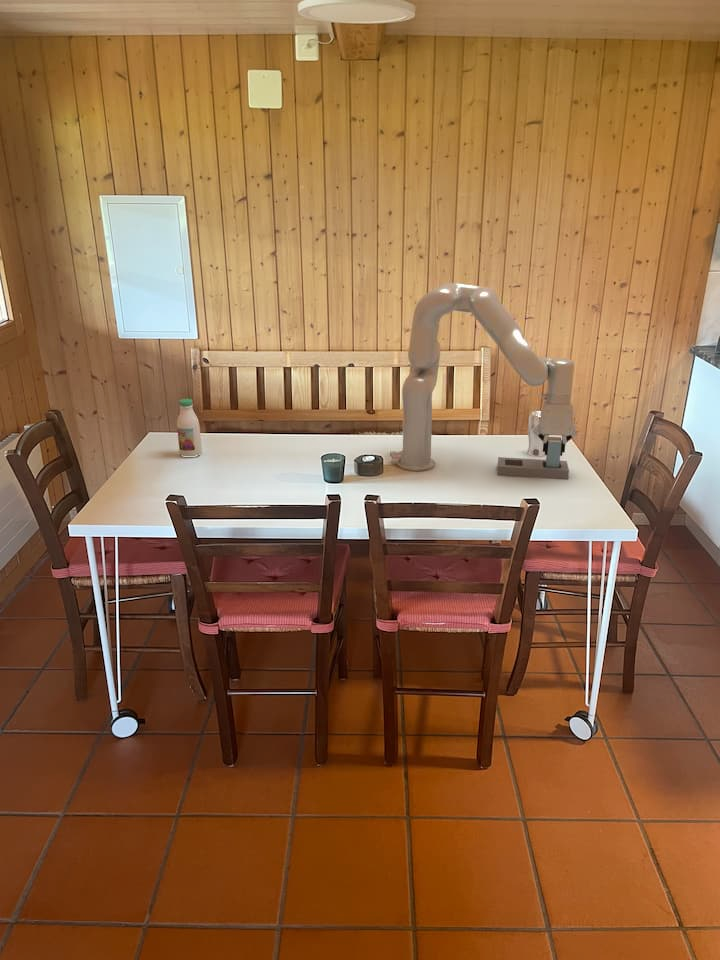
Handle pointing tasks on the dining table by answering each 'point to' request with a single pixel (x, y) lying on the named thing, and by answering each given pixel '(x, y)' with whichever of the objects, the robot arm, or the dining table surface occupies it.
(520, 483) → the dining table surface
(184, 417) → the milk bottle
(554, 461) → the plug
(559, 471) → the panel
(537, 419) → the beer glass
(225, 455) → the dining table surface
